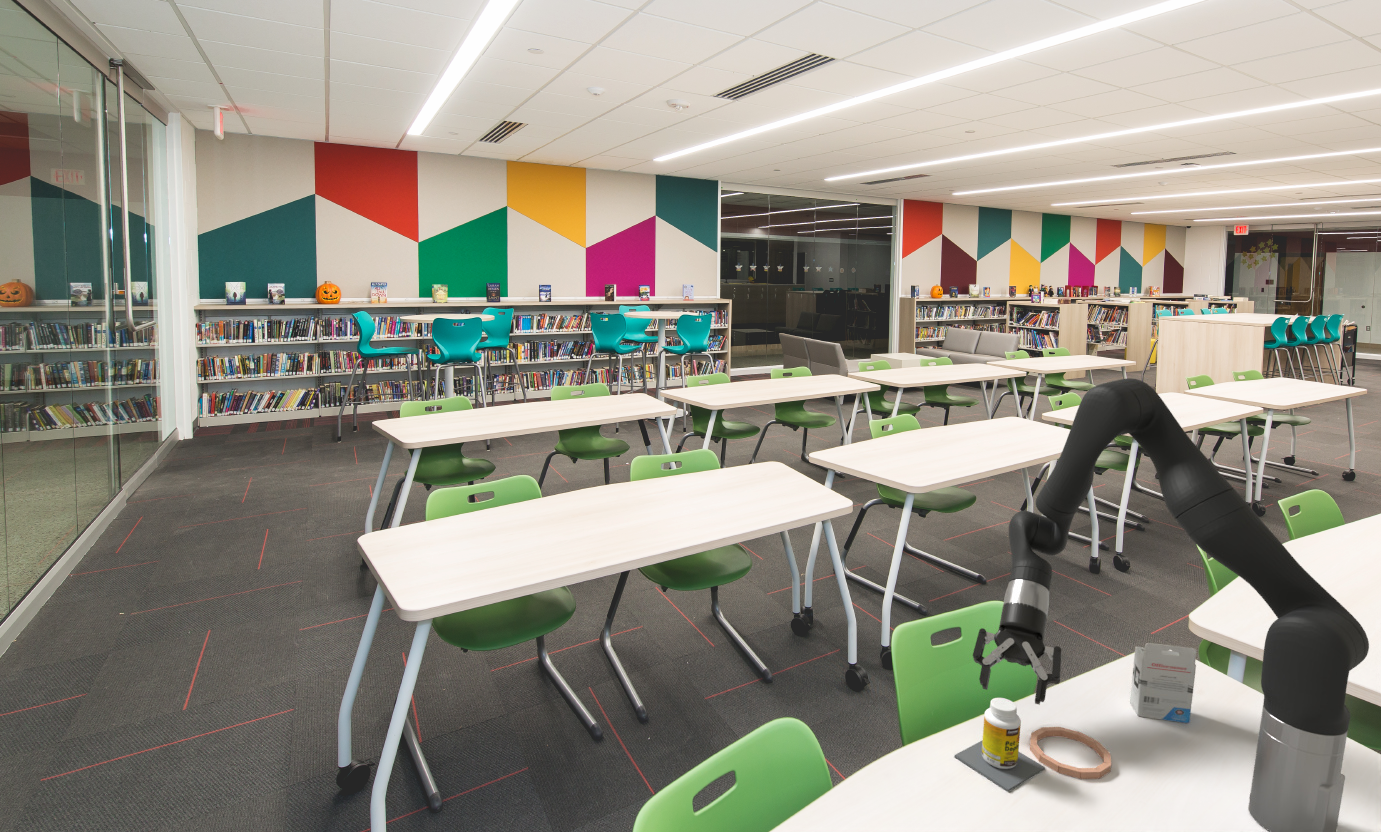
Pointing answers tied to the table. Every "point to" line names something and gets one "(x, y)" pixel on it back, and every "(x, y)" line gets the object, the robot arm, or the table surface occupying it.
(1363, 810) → the table surface
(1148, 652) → the ink box
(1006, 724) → the supplement bottle
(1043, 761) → the faceted open ring
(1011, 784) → the mat
